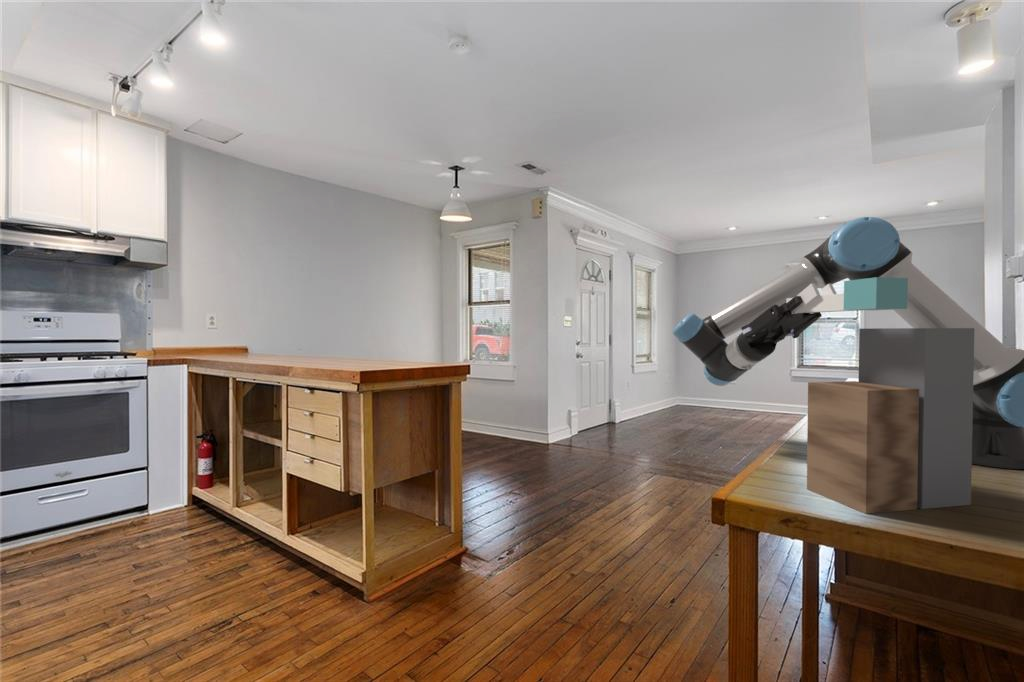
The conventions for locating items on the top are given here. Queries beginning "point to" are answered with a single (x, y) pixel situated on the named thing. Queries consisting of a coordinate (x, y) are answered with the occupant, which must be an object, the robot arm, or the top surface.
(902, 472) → the tall wooden pillar
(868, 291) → the bar
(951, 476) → the tower
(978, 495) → the top surface
